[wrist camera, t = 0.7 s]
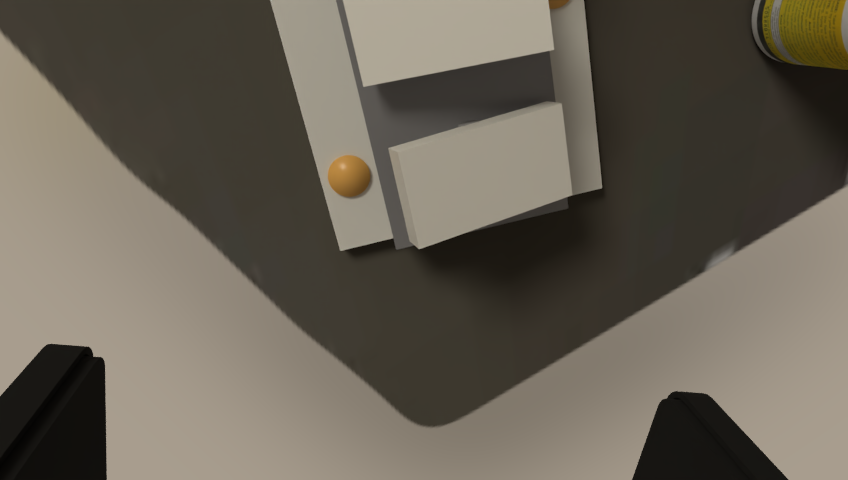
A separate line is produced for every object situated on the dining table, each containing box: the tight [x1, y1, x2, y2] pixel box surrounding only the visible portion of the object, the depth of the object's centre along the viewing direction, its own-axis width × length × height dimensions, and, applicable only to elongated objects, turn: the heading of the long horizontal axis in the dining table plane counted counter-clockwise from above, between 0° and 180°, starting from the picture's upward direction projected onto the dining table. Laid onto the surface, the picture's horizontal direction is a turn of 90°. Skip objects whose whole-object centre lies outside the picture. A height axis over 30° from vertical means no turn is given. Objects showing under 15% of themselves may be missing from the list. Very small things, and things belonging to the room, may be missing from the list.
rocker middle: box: [343, 0, 554, 87], centre depth 25 cm, size 8×4×2 cm, turn 101°
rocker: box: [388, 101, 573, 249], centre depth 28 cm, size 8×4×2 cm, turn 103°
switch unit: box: [270, 0, 602, 251], centre depth 28 cm, size 15×22×4 cm
